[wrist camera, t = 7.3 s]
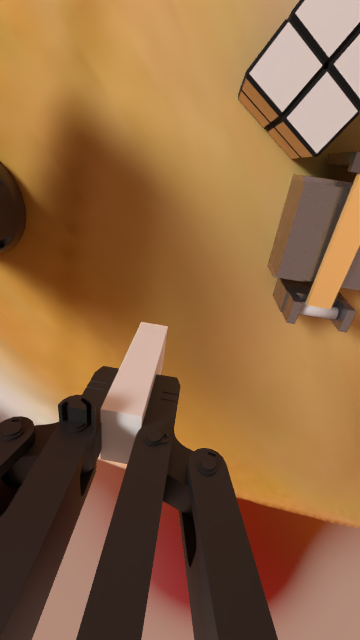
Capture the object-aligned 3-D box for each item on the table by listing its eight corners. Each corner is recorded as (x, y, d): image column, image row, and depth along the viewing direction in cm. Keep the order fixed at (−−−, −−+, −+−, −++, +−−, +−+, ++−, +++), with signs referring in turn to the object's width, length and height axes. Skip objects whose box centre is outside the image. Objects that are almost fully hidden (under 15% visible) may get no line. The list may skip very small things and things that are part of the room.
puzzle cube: (306, 6, 30) (343, -59, 22) (364, 83, 33) (419, 53, 24) (235, 97, 35) (243, 74, 26) (292, 160, 37) (316, 159, 28)
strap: (293, 309, 40) (296, 315, 38) (346, 171, 31) (352, 172, 29) (330, 315, 39) (334, 321, 38) (394, 178, 30) (402, 180, 29)
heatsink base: (260, 293, 45) (269, 319, 37) (300, 150, 36) (324, 145, 28) (337, 305, 45) (364, 335, 37) (398, 164, 36) (450, 163, 28)
